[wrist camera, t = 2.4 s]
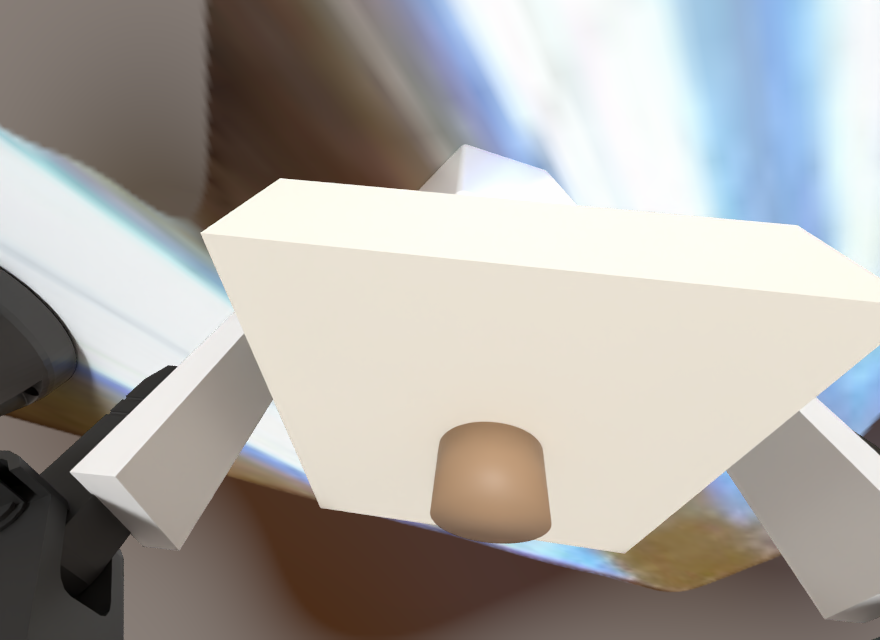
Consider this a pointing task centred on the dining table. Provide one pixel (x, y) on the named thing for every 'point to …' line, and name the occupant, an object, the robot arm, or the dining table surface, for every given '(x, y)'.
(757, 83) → the dining table surface
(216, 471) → the robot arm
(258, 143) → the dining table surface
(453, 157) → the jar
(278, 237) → the lid
